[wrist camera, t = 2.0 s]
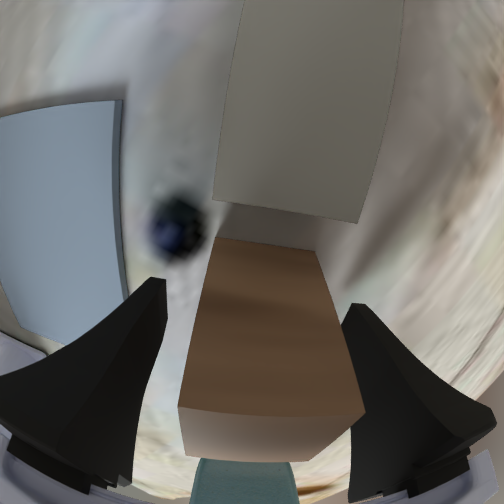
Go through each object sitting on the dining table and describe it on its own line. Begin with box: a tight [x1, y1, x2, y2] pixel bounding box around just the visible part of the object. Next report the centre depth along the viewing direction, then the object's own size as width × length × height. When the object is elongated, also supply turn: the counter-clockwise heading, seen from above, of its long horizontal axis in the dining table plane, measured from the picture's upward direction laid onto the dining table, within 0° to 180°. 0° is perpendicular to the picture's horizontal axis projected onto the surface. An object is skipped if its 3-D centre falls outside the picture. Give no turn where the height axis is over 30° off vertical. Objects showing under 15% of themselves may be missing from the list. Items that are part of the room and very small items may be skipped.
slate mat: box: [0, 100, 128, 345], centre depth 11 cm, size 14×10×1 cm
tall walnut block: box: [177, 237, 366, 462], centre depth 9 cm, size 4×4×7 cm
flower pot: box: [189, 458, 300, 504], centre depth 18 cm, size 9×9×9 cm
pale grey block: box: [212, 0, 404, 224], centre depth 7 cm, size 7×4×3 cm, turn 171°
